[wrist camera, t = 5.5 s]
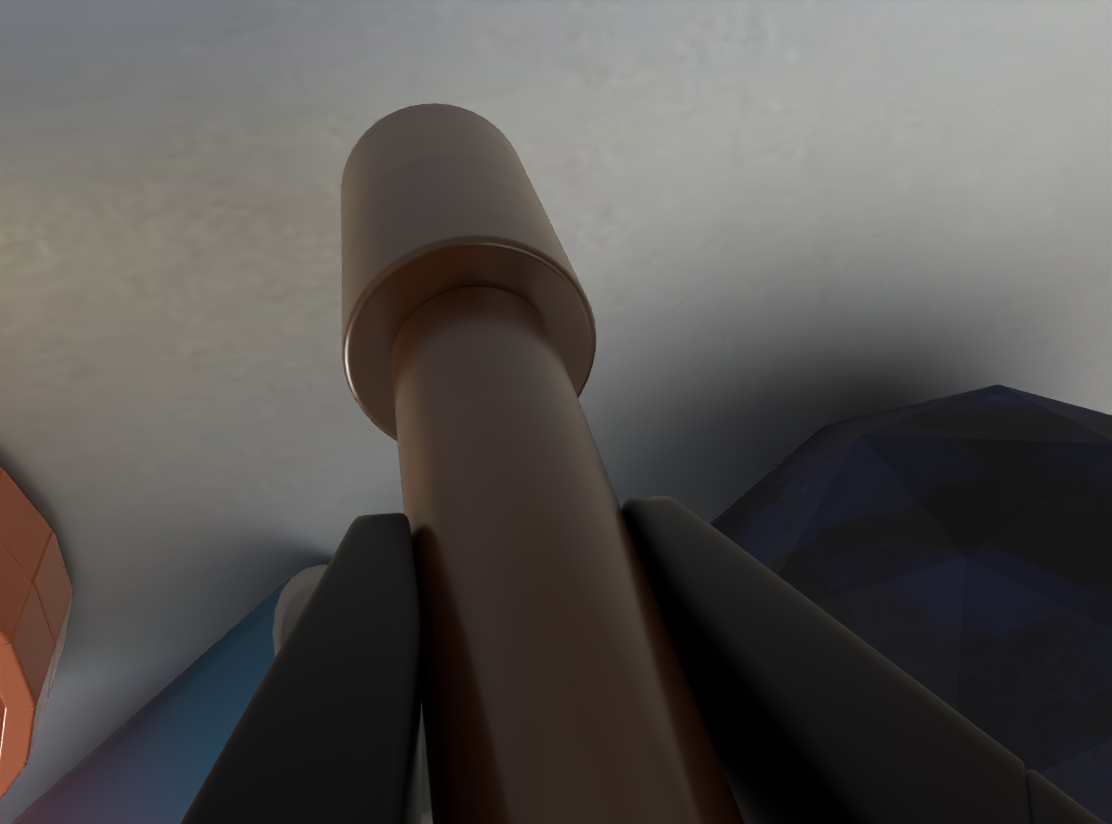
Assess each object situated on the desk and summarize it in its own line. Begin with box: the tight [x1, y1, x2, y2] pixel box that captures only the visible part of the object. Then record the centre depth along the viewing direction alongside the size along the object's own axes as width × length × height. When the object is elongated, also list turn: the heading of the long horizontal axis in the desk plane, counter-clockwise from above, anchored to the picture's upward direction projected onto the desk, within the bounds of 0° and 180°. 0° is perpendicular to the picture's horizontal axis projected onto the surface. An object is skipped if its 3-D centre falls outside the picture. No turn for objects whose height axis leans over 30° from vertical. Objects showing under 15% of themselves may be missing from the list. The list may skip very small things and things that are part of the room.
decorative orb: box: [710, 385, 1112, 824], centre depth 21 cm, size 14×15×15 cm
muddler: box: [341, 104, 745, 824], centre depth 9 cm, size 3×3×13 cm
